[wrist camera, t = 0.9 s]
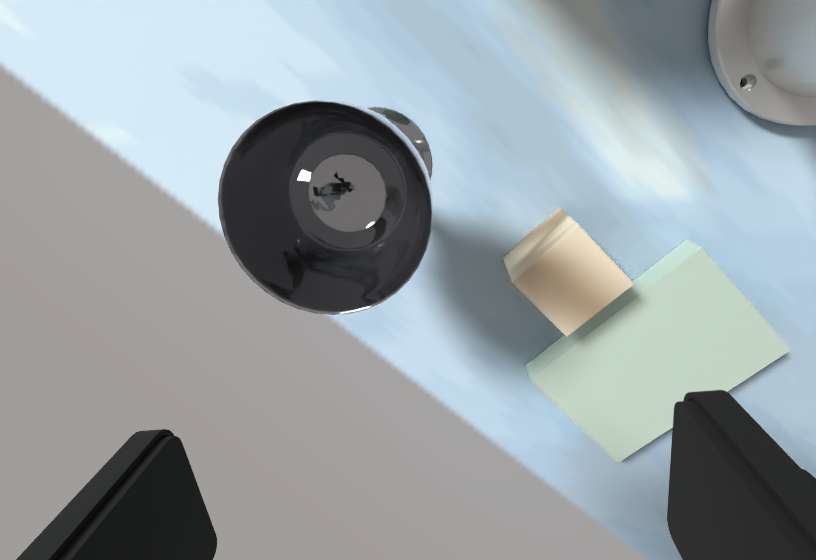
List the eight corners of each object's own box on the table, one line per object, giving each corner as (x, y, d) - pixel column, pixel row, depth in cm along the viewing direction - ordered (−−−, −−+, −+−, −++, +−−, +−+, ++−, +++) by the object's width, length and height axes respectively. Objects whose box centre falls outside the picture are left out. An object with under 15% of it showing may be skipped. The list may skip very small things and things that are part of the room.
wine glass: (437, 98, 30) (431, 96, 16) (438, 222, 33) (434, 315, 19) (312, 102, 30) (199, 104, 16) (323, 224, 33) (235, 315, 19)
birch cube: (559, 206, 32) (579, 225, 27) (606, 257, 33) (634, 284, 28) (502, 257, 33) (512, 282, 29) (549, 304, 34) (566, 336, 30)
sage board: (686, 238, 32) (702, 247, 30) (772, 336, 34) (791, 349, 32) (525, 365, 36) (529, 380, 34) (609, 445, 38) (617, 463, 36)
